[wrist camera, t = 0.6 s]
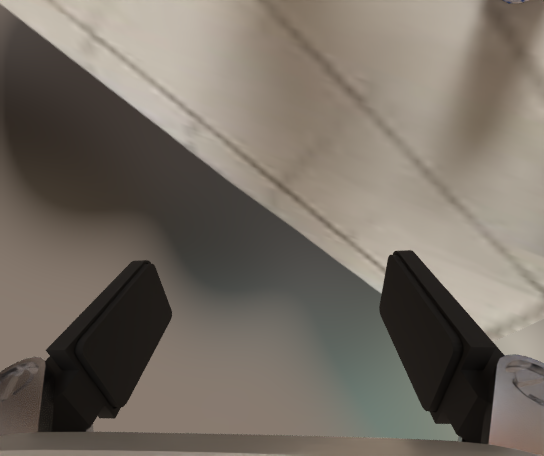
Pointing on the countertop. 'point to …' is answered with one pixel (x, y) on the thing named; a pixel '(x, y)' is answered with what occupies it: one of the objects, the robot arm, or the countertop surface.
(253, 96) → the countertop surface
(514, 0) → the white blue cylinder
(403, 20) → the countertop surface
